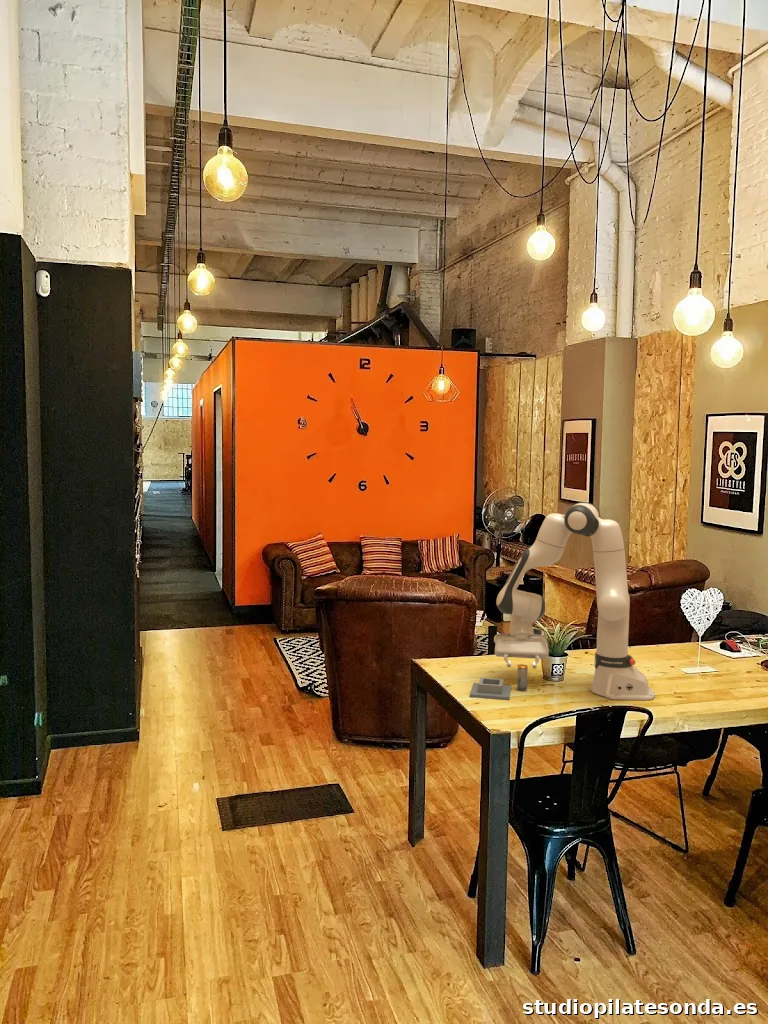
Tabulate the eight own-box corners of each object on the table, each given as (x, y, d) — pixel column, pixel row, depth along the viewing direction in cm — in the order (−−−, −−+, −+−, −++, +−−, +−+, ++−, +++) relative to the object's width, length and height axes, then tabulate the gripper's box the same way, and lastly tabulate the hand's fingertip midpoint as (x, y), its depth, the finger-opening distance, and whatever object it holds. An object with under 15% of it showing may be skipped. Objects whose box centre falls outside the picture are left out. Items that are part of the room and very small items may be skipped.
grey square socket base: (511, 687, 289) (511, 677, 288) (509, 700, 275) (509, 689, 275) (473, 685, 292) (473, 674, 291) (469, 697, 278) (470, 686, 278)
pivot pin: (527, 688, 288) (527, 664, 287) (526, 691, 285) (527, 667, 284) (517, 687, 289) (517, 664, 288) (516, 690, 285) (517, 666, 285)
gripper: (494, 629, 297) (493, 661, 288) (548, 631, 294) (549, 664, 285) (493, 637, 302) (493, 669, 293) (547, 640, 299) (548, 672, 290)
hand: (521, 666), depth 289 cm, fingers open, 8 cm apart
